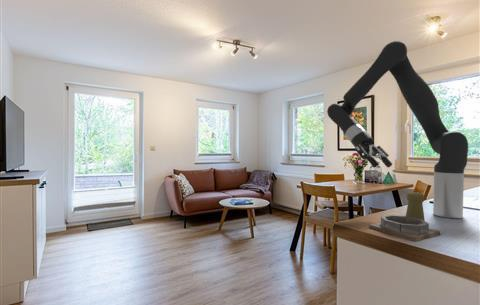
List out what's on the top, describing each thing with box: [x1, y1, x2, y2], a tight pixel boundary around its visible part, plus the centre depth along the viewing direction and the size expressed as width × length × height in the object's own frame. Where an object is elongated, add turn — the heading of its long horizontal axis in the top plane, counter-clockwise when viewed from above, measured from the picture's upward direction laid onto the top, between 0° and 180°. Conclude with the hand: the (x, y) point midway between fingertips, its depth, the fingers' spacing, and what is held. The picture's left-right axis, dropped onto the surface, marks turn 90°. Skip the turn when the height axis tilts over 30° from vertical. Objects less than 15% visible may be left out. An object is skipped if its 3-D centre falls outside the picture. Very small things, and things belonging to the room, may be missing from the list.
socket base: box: [368, 214, 441, 242], centre depth 82 cm, size 14×14×4 cm
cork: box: [405, 191, 426, 221], centre depth 90 cm, size 6×6×11 cm
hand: (383, 166), depth 100 cm, fingers open, 8 cm apart
